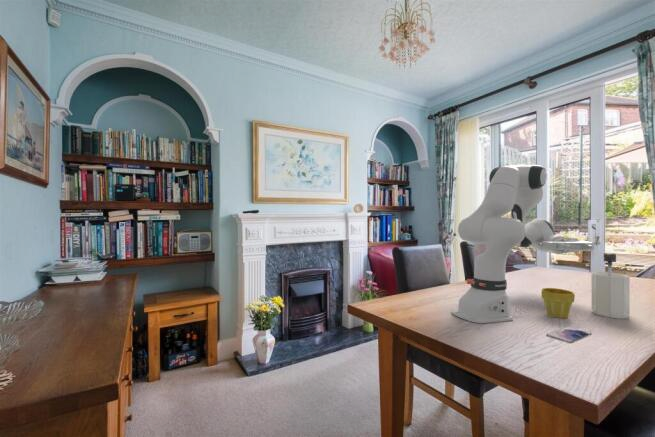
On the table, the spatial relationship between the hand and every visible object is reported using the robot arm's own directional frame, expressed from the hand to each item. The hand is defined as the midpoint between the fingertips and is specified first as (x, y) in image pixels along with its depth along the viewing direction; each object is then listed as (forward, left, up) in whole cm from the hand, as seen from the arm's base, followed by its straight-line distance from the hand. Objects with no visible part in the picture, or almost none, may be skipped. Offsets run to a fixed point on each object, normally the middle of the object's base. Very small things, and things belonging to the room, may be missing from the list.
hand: (580, 247), depth 131 cm
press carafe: (-3, -12, -26) cm, 28 cm away
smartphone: (-43, -17, -26) cm, 53 cm away
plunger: (-5, -12, -23) cm, 27 cm away
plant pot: (-25, -4, -26) cm, 36 cm away
